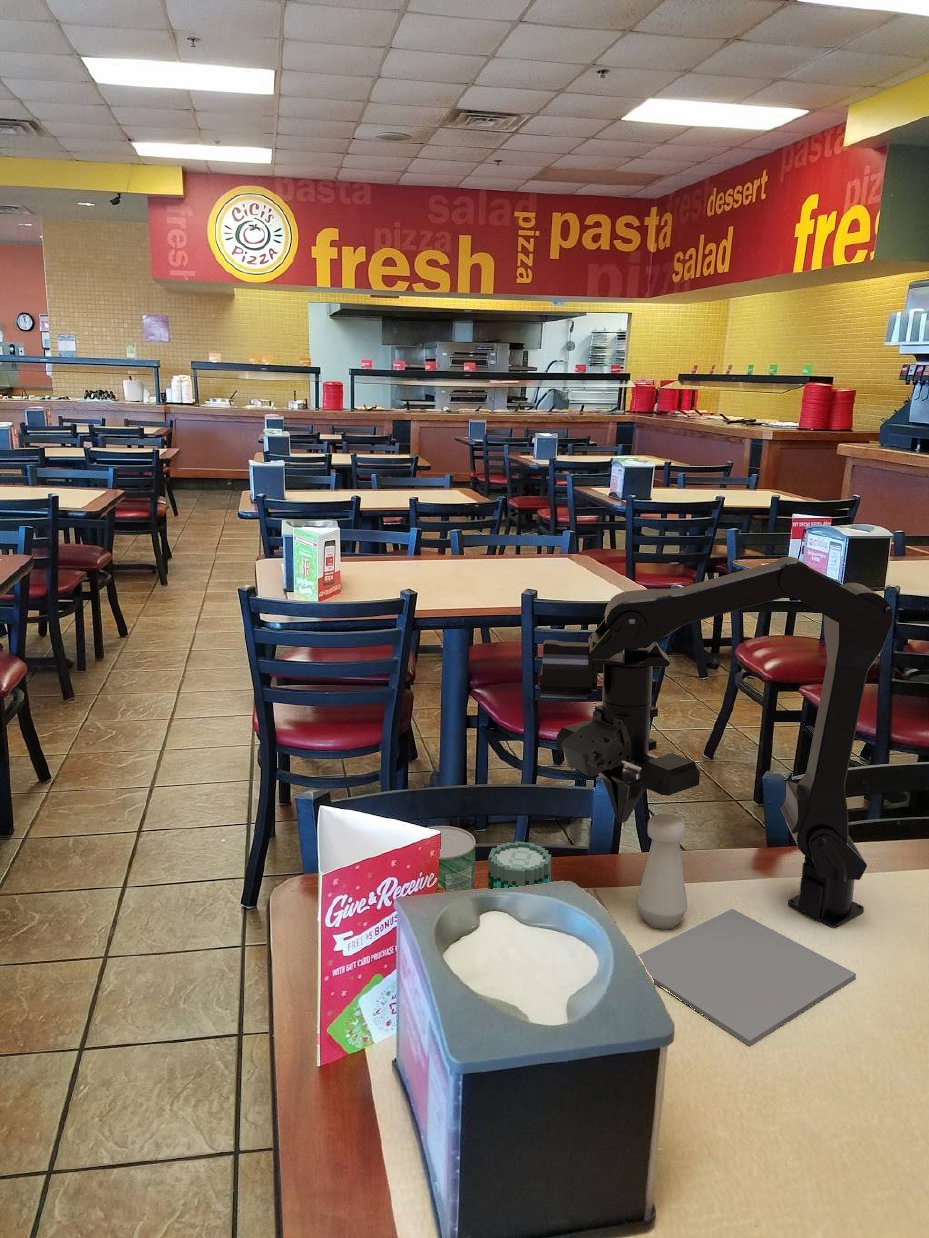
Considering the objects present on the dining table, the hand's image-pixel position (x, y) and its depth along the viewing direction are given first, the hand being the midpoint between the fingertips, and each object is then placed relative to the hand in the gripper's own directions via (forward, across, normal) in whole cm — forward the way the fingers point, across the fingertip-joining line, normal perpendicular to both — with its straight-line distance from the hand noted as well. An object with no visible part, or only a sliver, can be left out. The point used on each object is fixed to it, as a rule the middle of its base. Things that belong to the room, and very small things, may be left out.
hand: (621, 821), depth 111 cm
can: (+10, +7, -22) cm, 25 cm away
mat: (+10, +19, -1) cm, 21 cm away
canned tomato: (+10, -7, -22) cm, 25 cm away
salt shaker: (+10, +7, 0) cm, 12 cm away
